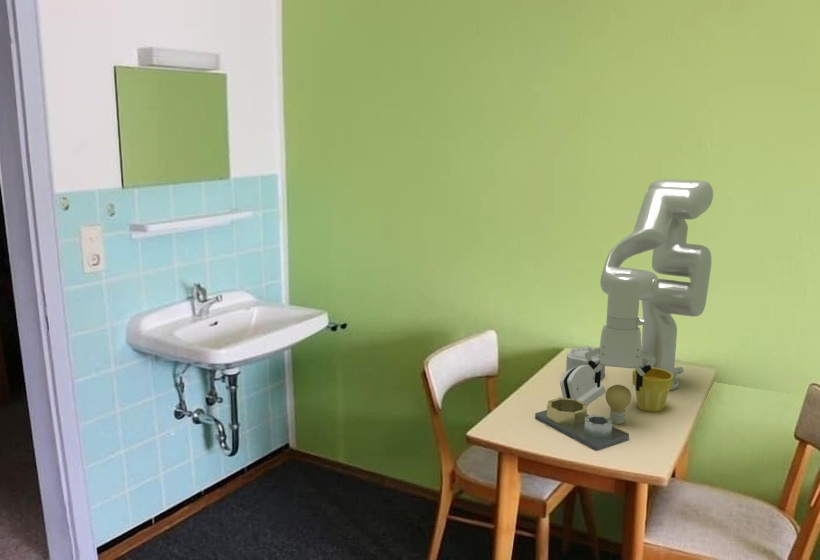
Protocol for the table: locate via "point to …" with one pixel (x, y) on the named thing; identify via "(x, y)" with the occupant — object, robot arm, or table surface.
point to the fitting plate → (581, 423)
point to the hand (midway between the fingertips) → (617, 387)
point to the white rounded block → (581, 384)
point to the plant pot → (653, 389)
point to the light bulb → (618, 402)
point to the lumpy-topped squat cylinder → (581, 358)
